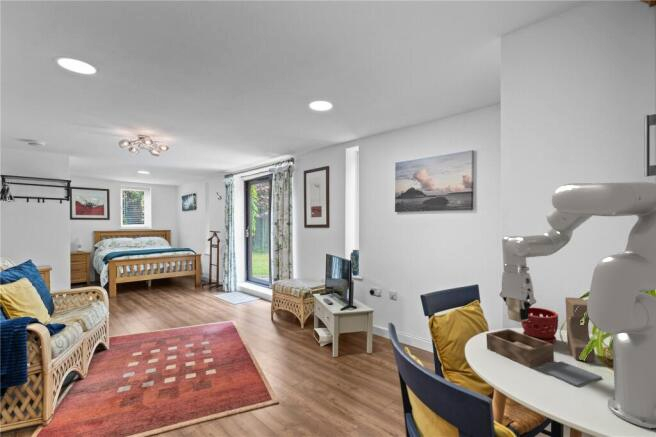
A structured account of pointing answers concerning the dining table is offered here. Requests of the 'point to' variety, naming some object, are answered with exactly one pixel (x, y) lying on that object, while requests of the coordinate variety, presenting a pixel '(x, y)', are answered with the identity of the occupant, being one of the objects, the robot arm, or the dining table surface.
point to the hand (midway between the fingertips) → (518, 316)
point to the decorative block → (577, 328)
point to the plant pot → (541, 324)
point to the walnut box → (520, 347)
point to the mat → (569, 373)
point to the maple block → (514, 310)
